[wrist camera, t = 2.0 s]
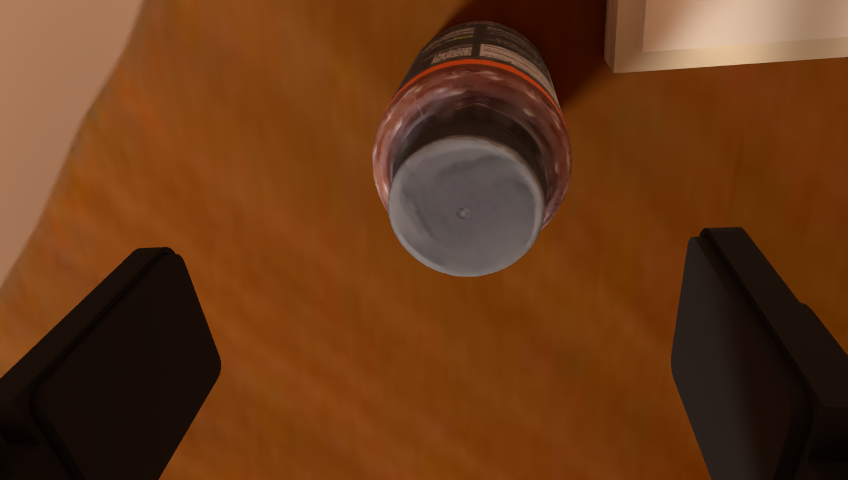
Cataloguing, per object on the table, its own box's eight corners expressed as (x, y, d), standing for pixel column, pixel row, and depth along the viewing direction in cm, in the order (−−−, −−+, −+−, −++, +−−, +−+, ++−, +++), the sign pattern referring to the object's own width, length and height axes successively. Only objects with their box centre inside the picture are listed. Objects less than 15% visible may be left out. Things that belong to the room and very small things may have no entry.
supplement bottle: (474, 183, 26) (456, 345, 16) (380, 88, 24) (298, 206, 15) (581, 95, 23) (635, 225, 14) (484, -18, 22) (468, 39, 12)
